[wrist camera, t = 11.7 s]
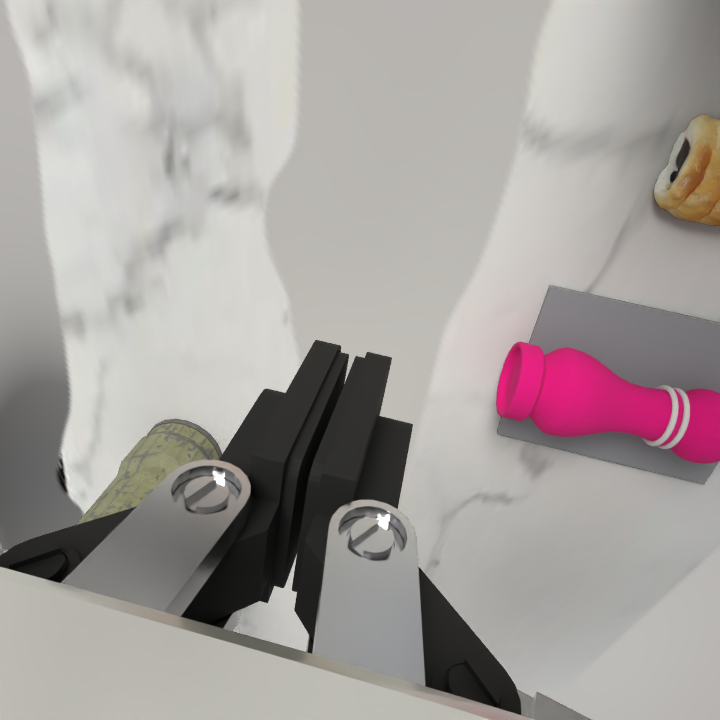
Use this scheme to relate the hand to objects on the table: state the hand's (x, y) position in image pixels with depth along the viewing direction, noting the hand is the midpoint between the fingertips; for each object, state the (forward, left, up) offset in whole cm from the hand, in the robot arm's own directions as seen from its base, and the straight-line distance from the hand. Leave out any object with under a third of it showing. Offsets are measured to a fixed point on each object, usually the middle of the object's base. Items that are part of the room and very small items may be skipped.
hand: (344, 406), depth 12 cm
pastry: (-2, +19, -35) cm, 41 cm away
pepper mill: (+15, +9, -31) cm, 35 cm away
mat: (+16, +20, -35) cm, 43 cm away
